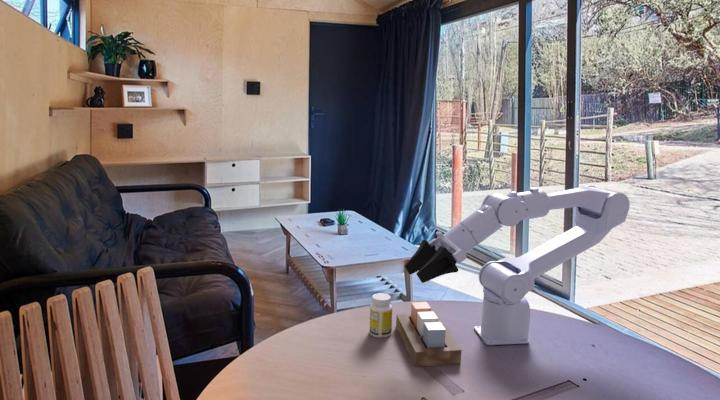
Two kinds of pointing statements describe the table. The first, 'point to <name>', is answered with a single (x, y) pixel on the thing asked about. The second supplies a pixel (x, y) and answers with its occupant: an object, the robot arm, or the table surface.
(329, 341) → the table surface
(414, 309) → the red key
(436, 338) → the blue key
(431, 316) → the white key
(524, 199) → the robot arm
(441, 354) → the key block
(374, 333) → the supplement bottle
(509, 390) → the table surface
